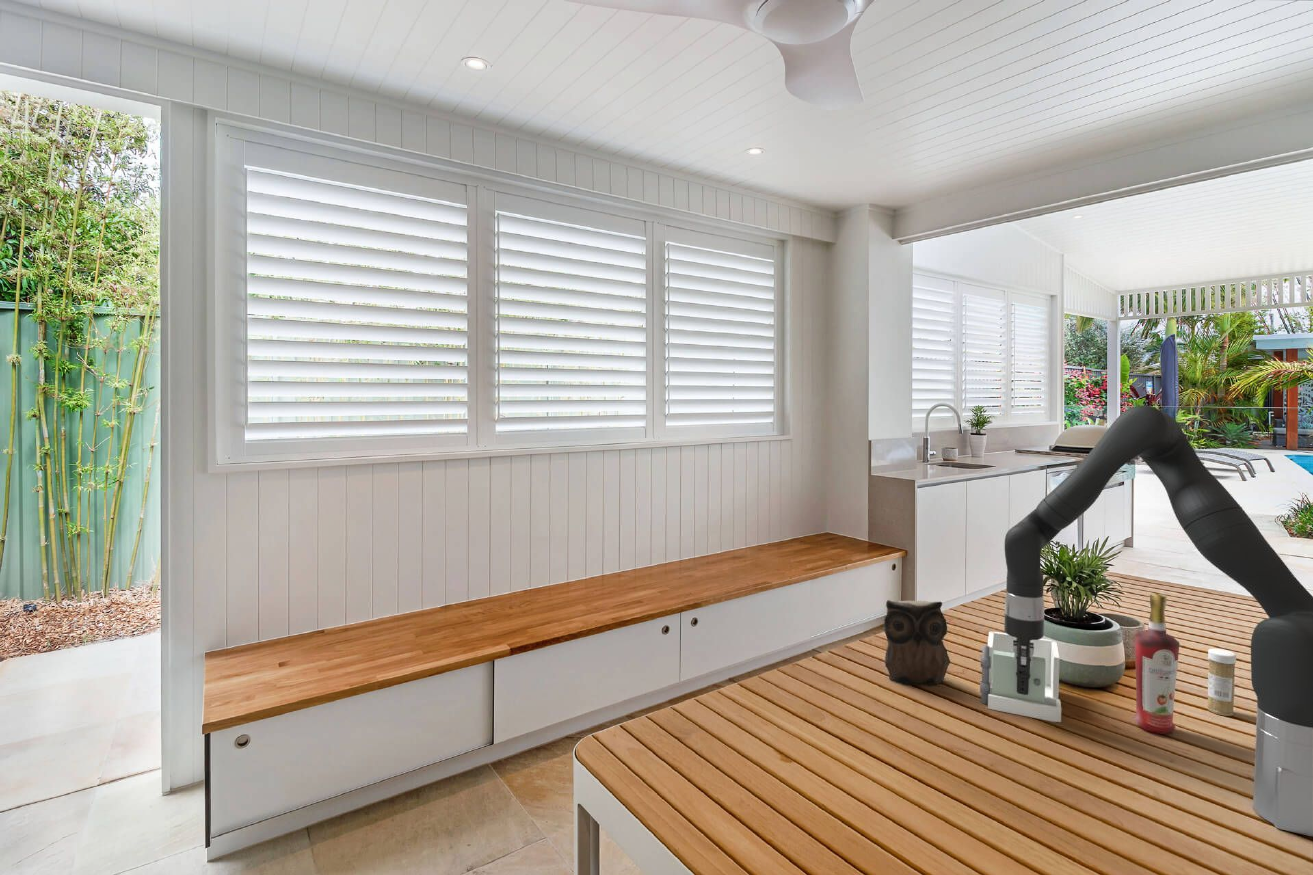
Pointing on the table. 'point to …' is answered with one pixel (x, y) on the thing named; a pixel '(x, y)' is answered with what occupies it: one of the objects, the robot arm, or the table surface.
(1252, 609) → the table surface
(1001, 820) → the table surface
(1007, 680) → the door
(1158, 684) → the liquor
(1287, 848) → the table surface
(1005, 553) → the robot arm
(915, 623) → the owl
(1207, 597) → the table surface
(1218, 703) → the sprinkles bottle
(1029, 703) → the cabinet
